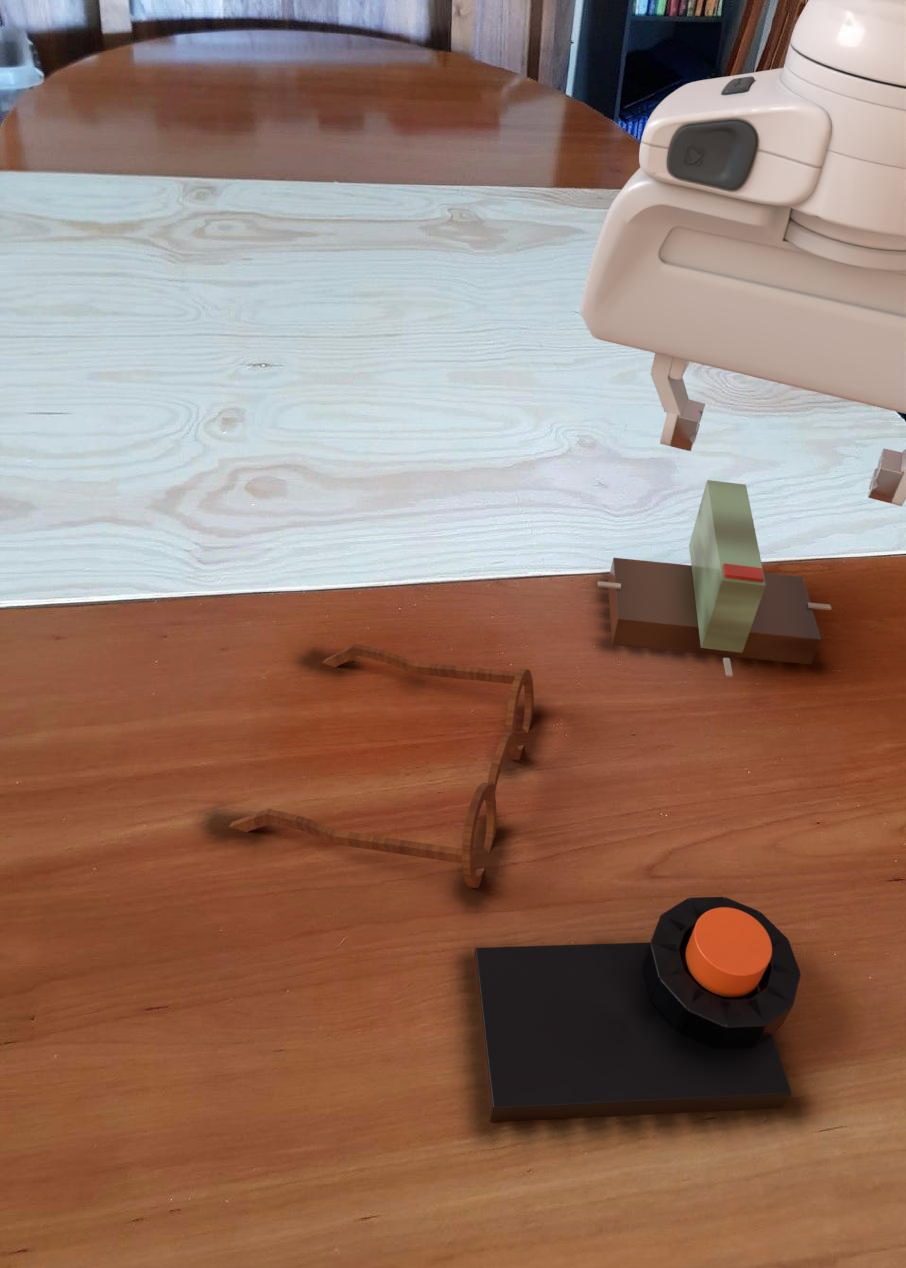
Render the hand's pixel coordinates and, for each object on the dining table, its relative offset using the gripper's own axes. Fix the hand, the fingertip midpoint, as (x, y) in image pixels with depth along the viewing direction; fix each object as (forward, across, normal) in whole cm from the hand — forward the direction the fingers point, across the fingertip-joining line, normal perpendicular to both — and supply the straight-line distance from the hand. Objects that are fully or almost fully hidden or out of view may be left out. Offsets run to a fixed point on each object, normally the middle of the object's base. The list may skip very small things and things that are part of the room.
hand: (779, 468), depth 48 cm
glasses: (+18, +14, +10) cm, 25 cm away
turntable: (+18, +1, -9) cm, 20 cm away
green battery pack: (+14, +1, -9) cm, 17 cm away
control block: (+18, -1, +20) cm, 26 cm away
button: (+14, -4, +16) cm, 22 cm away
